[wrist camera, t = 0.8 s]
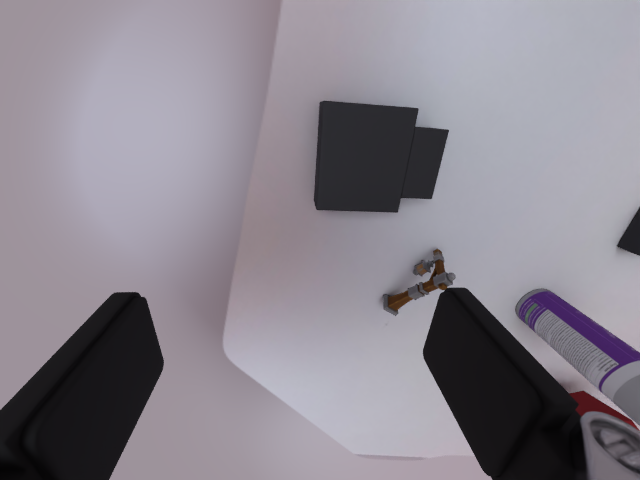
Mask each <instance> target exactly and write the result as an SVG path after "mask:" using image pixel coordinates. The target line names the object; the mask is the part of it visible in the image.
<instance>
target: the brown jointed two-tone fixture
mask: <svg viewBox="0 0 640 480" xmlns="http://www.w3.org/2000/svg"><path fill="white" fill-rule="evenodd" d="M433 252H434V256H433V258H434V260H433V261H431V262H430V261H429V260H428V262H429V263H428V262H427V263H426V262H425V261H423V260H422V263H421V264H419V265H415V270H414V271H413V273H414V275H418V274H419V275H420V276H422V275H423V274H425V273H426V272H430V273H431V270H430V267H433V264H434V263H435V269H434V271H433V273H432V275H431V278H430V280H429V281H427V282H425V283H422V282H420V283H419V285H418V284H416V285H415V286H413V287H411V288H408V290H407V291H405V292H403V293H400V294H397V295H395V296H391V297H390V296H388V295H387V294H386V295H383V306H384V310H386V311H388V312H389V313H391V314H393V315H395V316H396V315H397V314H398V309H399V308H400V307H402V306H403V305H404V304H406V303H407V302H409V301H411V300H412V299H414V300H416V299H417V298H420V297H423V296H425V295H424V294H426V295H428V294H429V292H431V291H433V290H435V289H438V288H439V289H441V290H445V289H446V288H447V286H449V285H453V282H452V281H453V280H454V279H455V274H454V273H446V272H445V269H444V257H443V256H442V252H441V251H440V250H439V249H436V250H435V251H433ZM436 275H437V276H436Z"/></svg>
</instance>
